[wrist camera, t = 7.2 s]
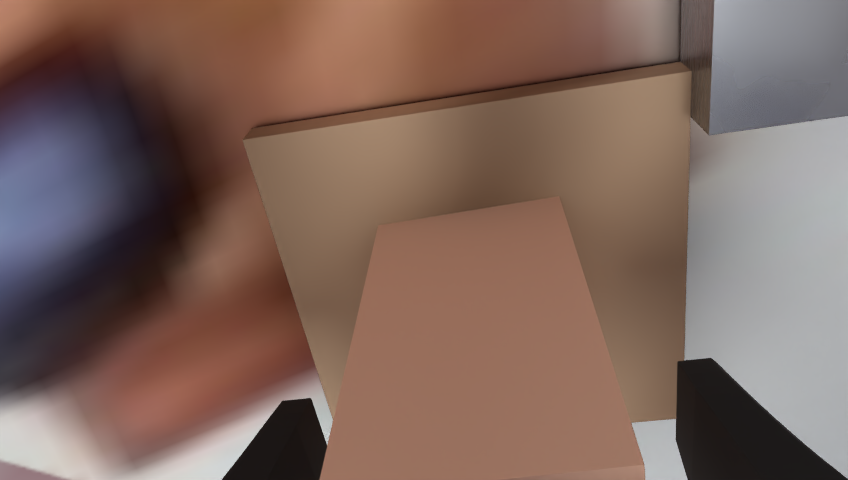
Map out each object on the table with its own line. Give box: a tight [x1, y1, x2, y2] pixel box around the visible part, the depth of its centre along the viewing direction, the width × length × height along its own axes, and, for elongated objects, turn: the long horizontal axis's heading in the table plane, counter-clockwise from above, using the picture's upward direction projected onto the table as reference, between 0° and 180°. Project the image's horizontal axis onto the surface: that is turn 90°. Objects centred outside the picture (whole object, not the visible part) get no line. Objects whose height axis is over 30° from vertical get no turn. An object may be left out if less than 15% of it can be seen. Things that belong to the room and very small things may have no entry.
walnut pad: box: [243, 62, 692, 423], centre depth 17 cm, size 10×10×1 cm
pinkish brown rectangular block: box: [320, 196, 645, 480], centre depth 13 cm, size 4×4×8 cm
